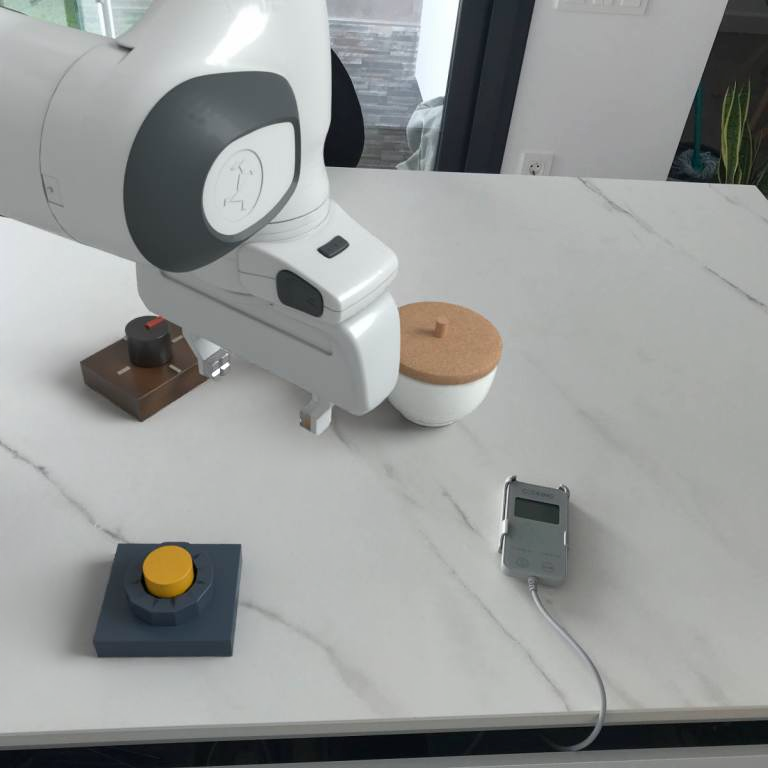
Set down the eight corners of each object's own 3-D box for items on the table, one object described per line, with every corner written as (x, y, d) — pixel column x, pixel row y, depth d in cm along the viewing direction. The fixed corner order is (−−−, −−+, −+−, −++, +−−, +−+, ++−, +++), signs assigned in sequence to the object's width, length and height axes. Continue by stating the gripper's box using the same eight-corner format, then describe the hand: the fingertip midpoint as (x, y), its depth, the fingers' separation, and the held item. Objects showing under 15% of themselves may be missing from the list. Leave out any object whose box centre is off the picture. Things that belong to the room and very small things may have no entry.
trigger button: (141, 598, 58) (138, 584, 57) (150, 559, 61) (147, 545, 60) (190, 598, 58) (188, 584, 57) (196, 559, 61) (194, 545, 60)
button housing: (97, 657, 58) (88, 627, 55) (121, 559, 65) (114, 528, 62) (232, 656, 59) (229, 626, 56) (242, 559, 66) (240, 529, 63)
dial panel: (142, 422, 78) (138, 398, 76) (84, 384, 81) (79, 360, 79) (221, 370, 85) (219, 347, 83) (165, 337, 89) (162, 314, 86)
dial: (148, 373, 79) (144, 343, 76) (120, 355, 81) (114, 325, 78) (181, 353, 82) (178, 324, 79) (153, 336, 83) (149, 307, 81)
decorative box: (503, 440, 80) (524, 355, 73) (384, 450, 77) (393, 363, 70) (469, 364, 89) (484, 282, 82) (361, 371, 86) (367, 287, 79)
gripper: (98, 197, 49) (129, 365, 58) (362, 314, 42) (351, 487, 51) (170, 165, 54) (189, 326, 63) (422, 266, 46) (402, 433, 55)
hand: (263, 399), depth 57 cm, fingers open, 8 cm apart
